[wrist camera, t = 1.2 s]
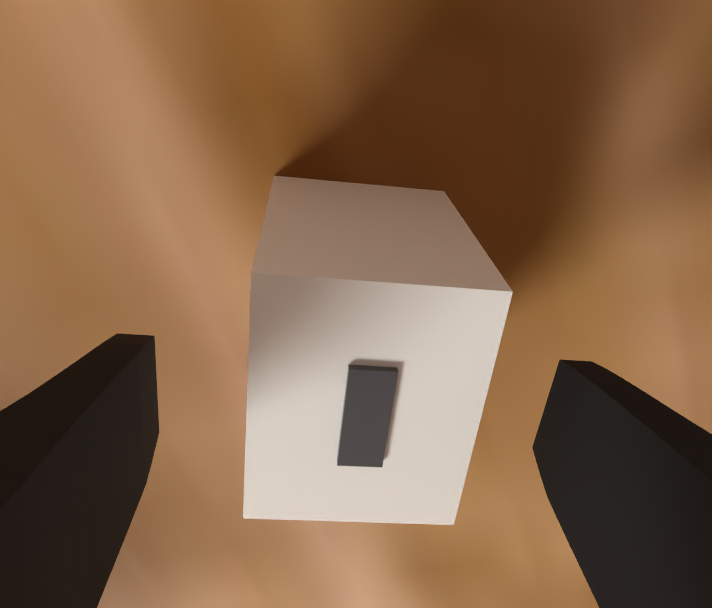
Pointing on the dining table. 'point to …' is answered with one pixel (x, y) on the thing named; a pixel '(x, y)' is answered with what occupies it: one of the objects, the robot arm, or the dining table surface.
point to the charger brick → (366, 354)
